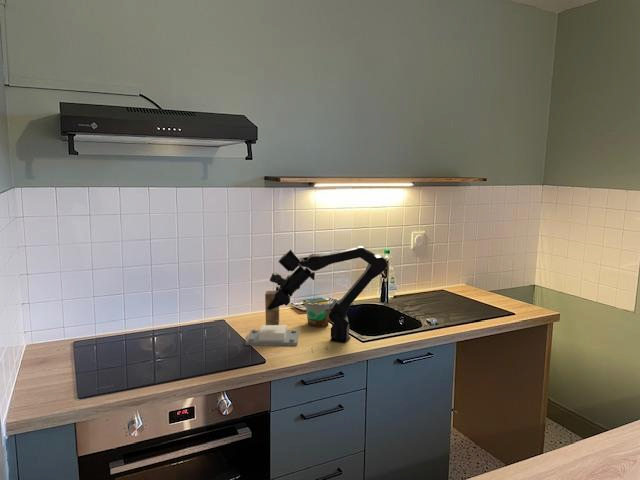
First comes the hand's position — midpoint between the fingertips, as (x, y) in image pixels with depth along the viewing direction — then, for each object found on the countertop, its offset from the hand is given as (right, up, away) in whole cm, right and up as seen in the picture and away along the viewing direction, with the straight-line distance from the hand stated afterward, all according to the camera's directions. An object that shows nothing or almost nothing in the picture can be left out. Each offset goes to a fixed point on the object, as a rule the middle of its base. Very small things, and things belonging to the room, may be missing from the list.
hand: (268, 307), depth 196 cm
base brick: (+1, -13, +3) cm, 14 cm away
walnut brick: (+1, -6, +1) cm, 7 cm away
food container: (+18, -11, +20) cm, 29 cm away
